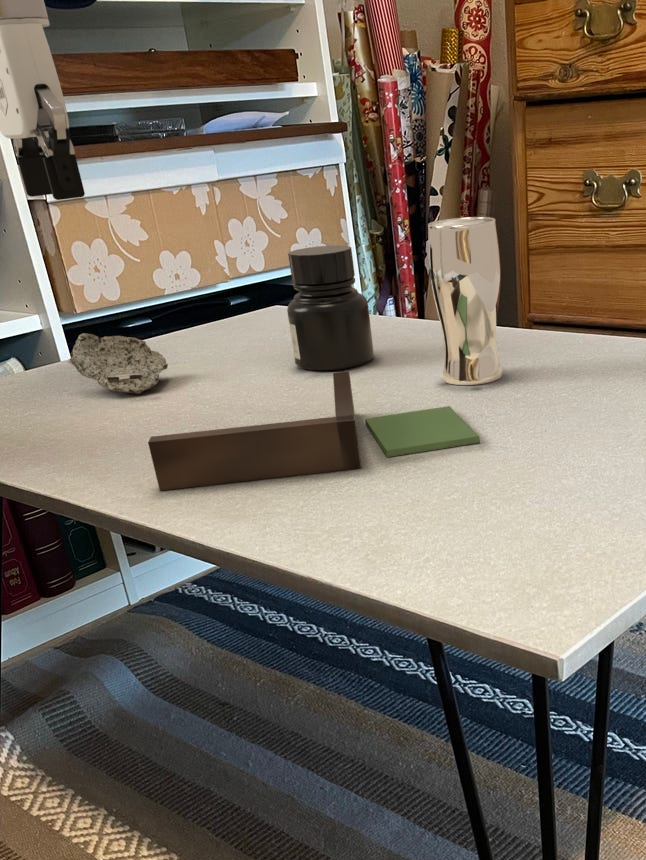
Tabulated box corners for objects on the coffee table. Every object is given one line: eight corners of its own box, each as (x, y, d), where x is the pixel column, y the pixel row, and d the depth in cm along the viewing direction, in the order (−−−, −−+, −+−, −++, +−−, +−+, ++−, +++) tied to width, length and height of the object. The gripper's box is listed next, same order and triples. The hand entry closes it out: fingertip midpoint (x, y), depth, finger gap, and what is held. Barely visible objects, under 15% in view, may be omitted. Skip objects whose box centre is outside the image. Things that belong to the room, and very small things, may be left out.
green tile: (387, 457, 81) (386, 450, 81) (365, 424, 89) (364, 418, 89) (480, 442, 83) (479, 435, 82) (450, 412, 91) (449, 405, 91)
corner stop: (159, 491, 78) (147, 442, 76) (183, 431, 91) (174, 389, 89) (361, 468, 79) (354, 419, 77) (354, 413, 93) (349, 371, 91)
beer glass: (447, 369, 105) (435, 218, 98) (511, 368, 104) (503, 215, 96) (432, 387, 99) (417, 228, 92) (499, 386, 98) (490, 224, 90)
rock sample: (90, 369, 99) (86, 300, 102) (67, 411, 104) (64, 344, 107) (189, 394, 105) (183, 327, 108) (162, 432, 111) (157, 368, 114)
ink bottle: (327, 350, 117) (312, 243, 111) (390, 353, 113) (378, 243, 107) (278, 371, 110) (259, 257, 104) (344, 375, 106) (328, 257, 100)
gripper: (-53, 20, 103) (-1, 198, 111) (-11, 3, 91) (44, 204, 99) (20, 17, 107) (65, 189, 115) (70, 1, 94) (116, 195, 103)
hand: (55, 196), depth 107 cm, fingers open, 9 cm apart
